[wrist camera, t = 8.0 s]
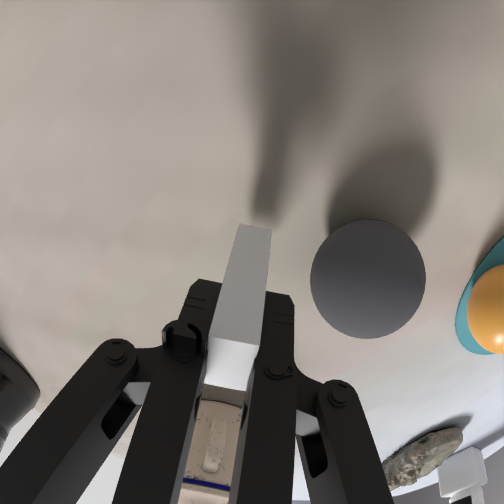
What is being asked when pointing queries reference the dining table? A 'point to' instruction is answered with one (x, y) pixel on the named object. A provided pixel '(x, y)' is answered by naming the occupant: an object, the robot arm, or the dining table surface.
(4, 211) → the dining table surface
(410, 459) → the long grey stone
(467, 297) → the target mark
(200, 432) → the teacup with lid
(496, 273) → the object ball
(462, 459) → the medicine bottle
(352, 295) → the dark grey ball
